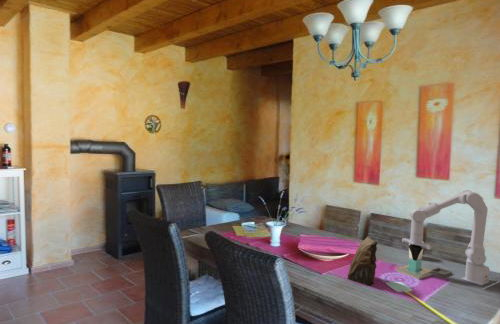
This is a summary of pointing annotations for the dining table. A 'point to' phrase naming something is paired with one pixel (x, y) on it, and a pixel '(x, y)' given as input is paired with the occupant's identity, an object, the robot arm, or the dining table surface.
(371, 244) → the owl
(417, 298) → the dining table surface
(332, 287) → the dining table surface
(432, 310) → the dining table surface
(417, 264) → the mint green block
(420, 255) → the beige tapered cup
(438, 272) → the dark brown square tray
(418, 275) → the port
